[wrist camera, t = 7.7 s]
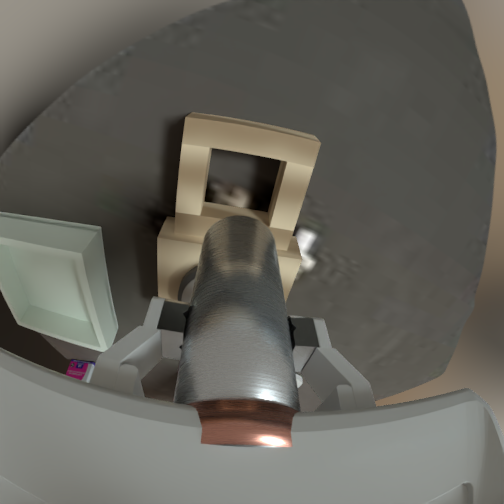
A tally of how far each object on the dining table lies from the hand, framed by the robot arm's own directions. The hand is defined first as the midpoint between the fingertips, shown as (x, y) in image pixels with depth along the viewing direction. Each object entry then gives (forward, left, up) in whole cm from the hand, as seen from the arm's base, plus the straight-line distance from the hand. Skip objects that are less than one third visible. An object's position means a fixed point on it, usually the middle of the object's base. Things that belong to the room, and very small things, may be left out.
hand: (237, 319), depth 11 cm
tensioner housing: (-4, 0, -14) cm, 15 cm away
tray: (-14, +21, -14) cm, 29 cm away
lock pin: (0, 0, -5) cm, 5 cm away
